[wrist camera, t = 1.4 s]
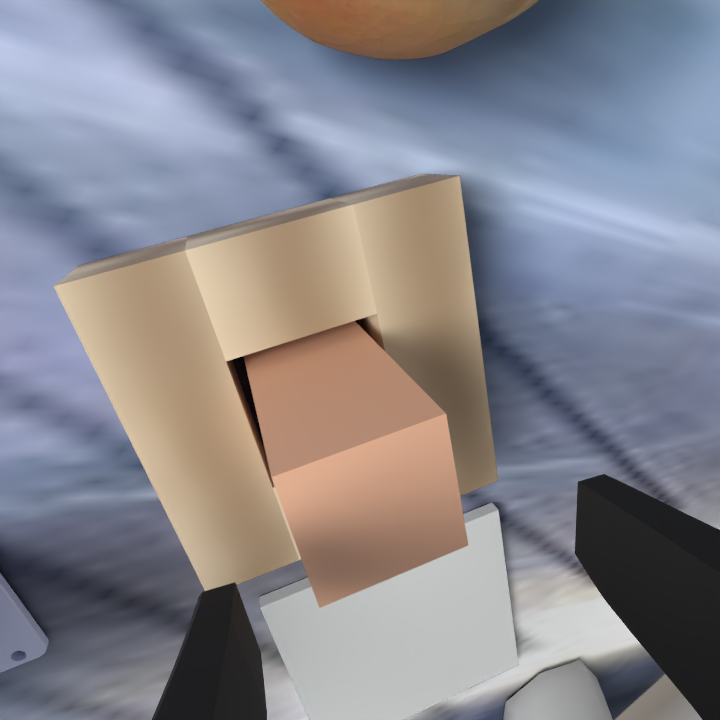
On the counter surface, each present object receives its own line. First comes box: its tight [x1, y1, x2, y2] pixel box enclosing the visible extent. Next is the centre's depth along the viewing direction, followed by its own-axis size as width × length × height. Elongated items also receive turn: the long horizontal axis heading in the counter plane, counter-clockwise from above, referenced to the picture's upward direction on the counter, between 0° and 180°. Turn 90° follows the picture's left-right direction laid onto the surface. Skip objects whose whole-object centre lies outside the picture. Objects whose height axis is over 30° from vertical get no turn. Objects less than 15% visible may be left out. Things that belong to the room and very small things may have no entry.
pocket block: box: [54, 174, 498, 591], centre depth 18 cm, size 12×12×3 cm
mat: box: [258, 503, 519, 720], centre depth 26 cm, size 12×12×1 cm
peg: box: [244, 321, 468, 608], centre depth 16 cm, size 4×4×9 cm
